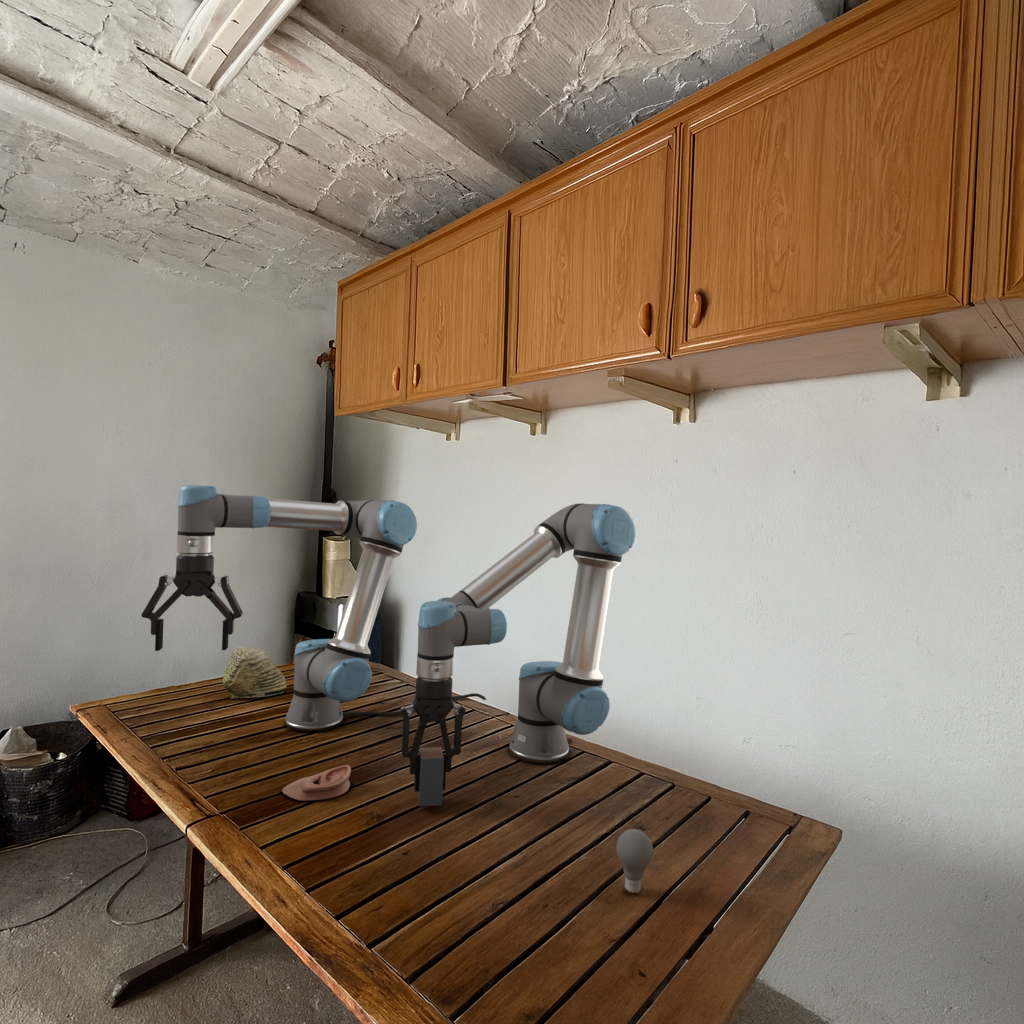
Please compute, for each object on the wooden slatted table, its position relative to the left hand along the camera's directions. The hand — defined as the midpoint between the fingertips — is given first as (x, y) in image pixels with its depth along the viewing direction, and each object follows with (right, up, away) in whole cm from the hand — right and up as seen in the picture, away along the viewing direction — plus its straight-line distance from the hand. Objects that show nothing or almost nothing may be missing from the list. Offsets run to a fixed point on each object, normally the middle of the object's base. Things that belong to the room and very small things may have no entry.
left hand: (192, 649), depth 141 cm
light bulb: (+92, -33, -36) cm, 104 cm away
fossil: (-9, -27, +57) cm, 63 cm away
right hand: (+54, -27, -10) cm, 61 cm away
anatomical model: (+29, -29, -5) cm, 42 cm away
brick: (+54, -29, -10) cm, 62 cm away
